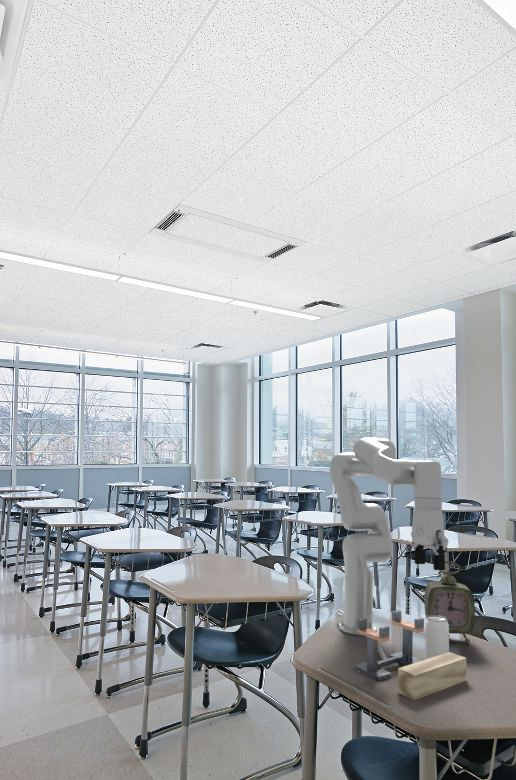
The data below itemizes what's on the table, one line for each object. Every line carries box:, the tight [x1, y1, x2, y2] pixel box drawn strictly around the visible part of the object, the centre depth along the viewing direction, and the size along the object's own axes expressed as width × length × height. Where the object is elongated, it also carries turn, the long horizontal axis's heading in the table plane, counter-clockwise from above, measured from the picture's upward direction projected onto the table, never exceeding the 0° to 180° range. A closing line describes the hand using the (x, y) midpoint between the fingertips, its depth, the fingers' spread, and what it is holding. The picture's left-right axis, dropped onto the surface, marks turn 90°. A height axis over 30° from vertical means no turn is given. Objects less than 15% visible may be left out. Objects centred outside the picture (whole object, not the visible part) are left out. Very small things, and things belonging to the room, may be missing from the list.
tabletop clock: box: [423, 560, 476, 645], centre depth 176 cm, size 14×9×25 cm, turn 82°
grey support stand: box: [353, 609, 425, 682], centre depth 150 cm, size 9×20×13 cm, turn 127°
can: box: [425, 615, 450, 660], centre depth 157 cm, size 6×6×12 cm
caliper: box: [365, 622, 388, 660], centre depth 161 cm, size 20×1×6 cm, turn 4°
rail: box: [397, 651, 467, 701], centre depth 139 cm, size 5×22×6 cm, turn 127°
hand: (429, 566), depth 149 cm, fingers open, 9 cm apart
